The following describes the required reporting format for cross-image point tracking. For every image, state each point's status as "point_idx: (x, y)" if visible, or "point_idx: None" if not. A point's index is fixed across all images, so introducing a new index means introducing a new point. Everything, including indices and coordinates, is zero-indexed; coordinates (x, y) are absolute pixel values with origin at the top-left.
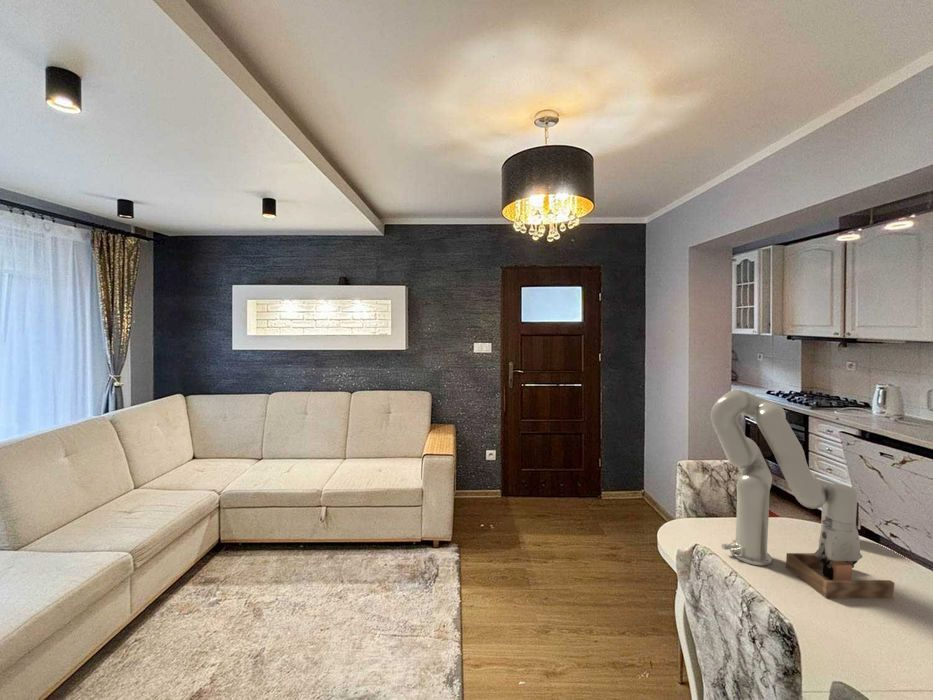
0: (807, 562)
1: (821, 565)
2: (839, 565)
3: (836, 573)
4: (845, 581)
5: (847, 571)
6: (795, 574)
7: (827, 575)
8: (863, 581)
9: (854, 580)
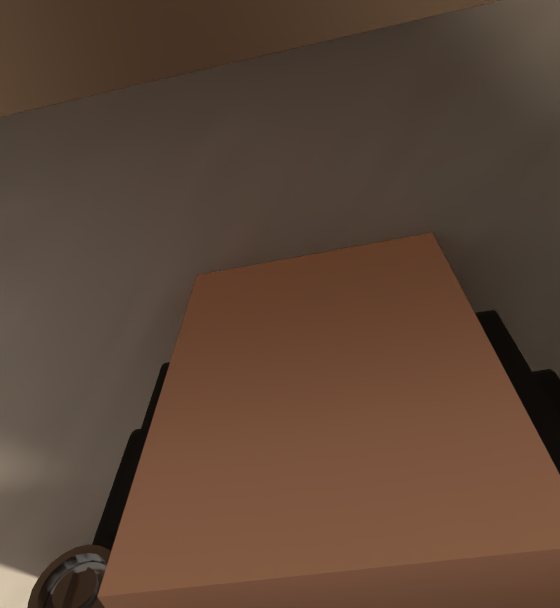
0: None
1: None
2: (473, 568)
3: (492, 372)
4: None
5: (240, 444)
6: None
7: (535, 374)
8: (48, 21)
9: (330, 20)
